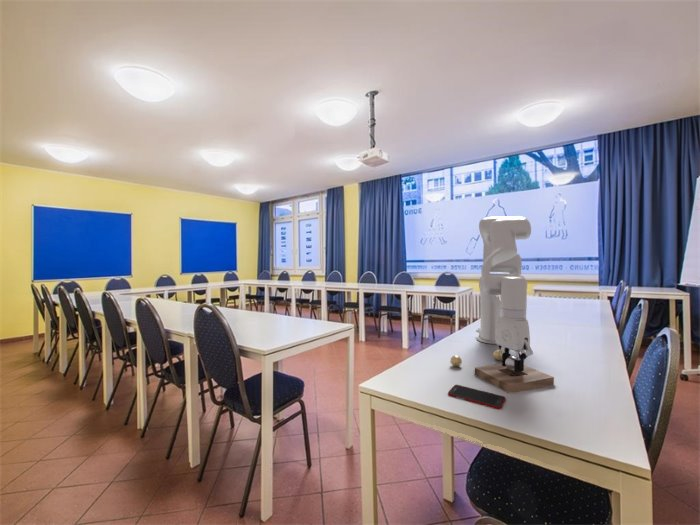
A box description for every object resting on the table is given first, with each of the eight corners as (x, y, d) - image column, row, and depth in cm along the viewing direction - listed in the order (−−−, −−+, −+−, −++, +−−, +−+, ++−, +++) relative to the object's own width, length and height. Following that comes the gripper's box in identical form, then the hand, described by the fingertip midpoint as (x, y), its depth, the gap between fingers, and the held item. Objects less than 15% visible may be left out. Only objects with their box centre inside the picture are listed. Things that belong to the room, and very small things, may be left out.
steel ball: (501, 368, 104) (501, 355, 104) (512, 366, 105) (512, 353, 105) (512, 373, 99) (512, 359, 99) (523, 371, 101) (523, 357, 101)
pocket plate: (474, 374, 107) (474, 367, 106) (514, 368, 112) (514, 361, 112) (509, 393, 92) (509, 385, 92) (553, 384, 98) (553, 377, 98)
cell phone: (500, 411, 83) (501, 407, 83) (446, 396, 92) (446, 393, 92) (506, 400, 89) (506, 396, 89) (455, 387, 98) (455, 384, 98)
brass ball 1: (448, 365, 116) (448, 354, 115) (457, 363, 117) (457, 353, 117) (455, 369, 112) (455, 358, 112) (464, 367, 113) (464, 356, 113)
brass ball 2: (490, 359, 122) (491, 349, 122) (498, 357, 123) (499, 347, 123) (498, 362, 118) (498, 352, 118) (506, 361, 119) (507, 351, 119)
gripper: (485, 310, 108) (484, 361, 109) (526, 319, 92) (525, 380, 93) (502, 308, 111) (501, 358, 111) (545, 318, 95) (544, 376, 95)
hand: (512, 367), depth 102 cm, fingers closed on steel ball, 4 cm apart
